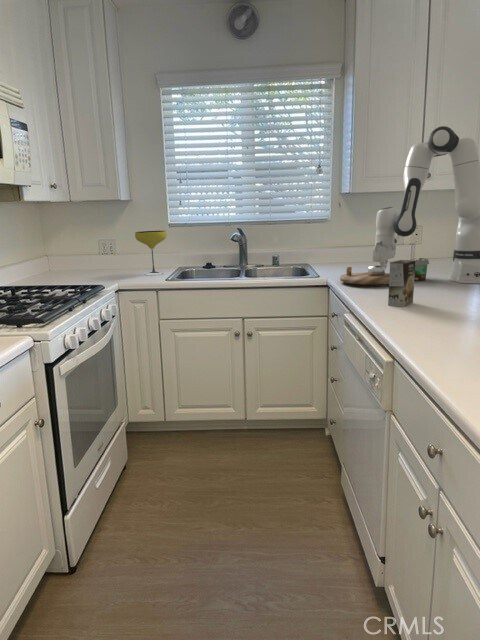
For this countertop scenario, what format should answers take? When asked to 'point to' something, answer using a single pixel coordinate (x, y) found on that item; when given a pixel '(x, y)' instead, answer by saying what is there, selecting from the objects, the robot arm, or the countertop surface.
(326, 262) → the countertop surface
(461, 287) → the countertop surface
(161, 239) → the cocktail glass
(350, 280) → the turntable
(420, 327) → the countertop surface
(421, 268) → the food container
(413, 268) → the coffee box
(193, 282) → the countertop surface
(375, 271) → the cover
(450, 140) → the robot arm
